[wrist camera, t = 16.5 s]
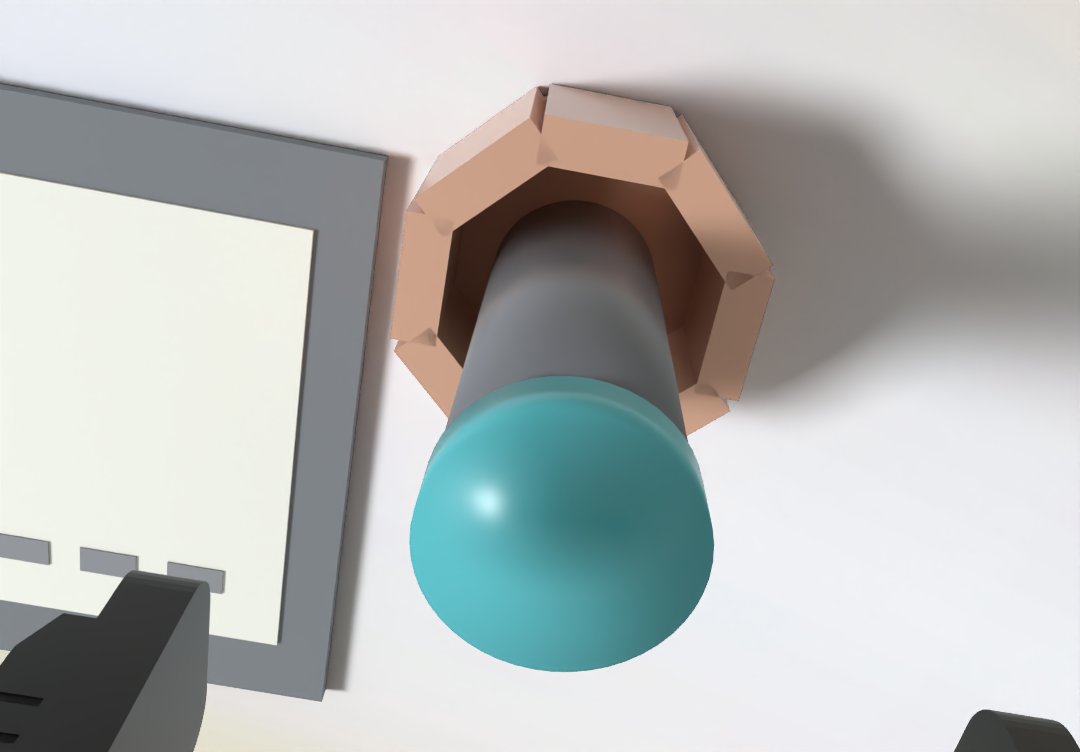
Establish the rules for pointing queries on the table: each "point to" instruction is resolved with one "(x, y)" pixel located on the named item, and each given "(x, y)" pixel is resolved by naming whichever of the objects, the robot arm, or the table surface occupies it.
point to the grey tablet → (180, 372)
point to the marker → (565, 458)
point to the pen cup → (600, 177)
